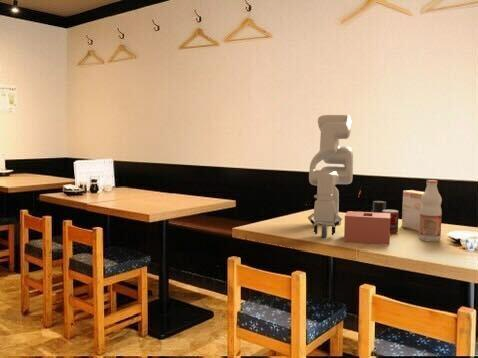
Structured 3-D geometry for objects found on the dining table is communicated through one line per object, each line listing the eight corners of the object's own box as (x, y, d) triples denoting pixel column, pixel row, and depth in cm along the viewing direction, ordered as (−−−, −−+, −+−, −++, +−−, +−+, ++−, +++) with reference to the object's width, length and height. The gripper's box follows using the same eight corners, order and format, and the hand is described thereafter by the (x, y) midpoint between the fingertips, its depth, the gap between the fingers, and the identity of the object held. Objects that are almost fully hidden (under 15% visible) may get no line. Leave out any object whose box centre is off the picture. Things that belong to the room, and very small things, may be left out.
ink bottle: (380, 225, 263) (381, 203, 262) (366, 222, 270) (367, 201, 269) (390, 223, 269) (391, 201, 268) (377, 220, 276) (377, 200, 275)
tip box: (346, 235, 237) (347, 211, 235) (389, 238, 231) (390, 213, 229) (344, 241, 223) (344, 215, 222) (389, 244, 217) (390, 218, 216)
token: (323, 235, 236) (323, 223, 236) (327, 236, 236) (327, 223, 235) (321, 238, 230) (321, 225, 230) (325, 238, 230) (325, 226, 229)
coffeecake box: (431, 230, 248) (432, 193, 246) (419, 231, 246) (421, 193, 244) (412, 225, 262) (413, 189, 261) (401, 226, 260) (402, 190, 258)
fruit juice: (414, 237, 232) (417, 179, 229) (432, 236, 234) (434, 179, 231) (426, 242, 222) (429, 181, 220) (444, 241, 225) (447, 181, 222)
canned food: (390, 234, 240) (390, 212, 238) (378, 231, 247) (379, 210, 246) (401, 232, 243) (402, 211, 242) (389, 230, 250) (390, 209, 249)
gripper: (305, 198, 230) (305, 234, 232) (342, 199, 225) (342, 237, 227) (308, 196, 237) (307, 231, 239) (344, 197, 232) (343, 233, 234)
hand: (324, 234), depth 233 cm, fingers open, 7 cm apart
